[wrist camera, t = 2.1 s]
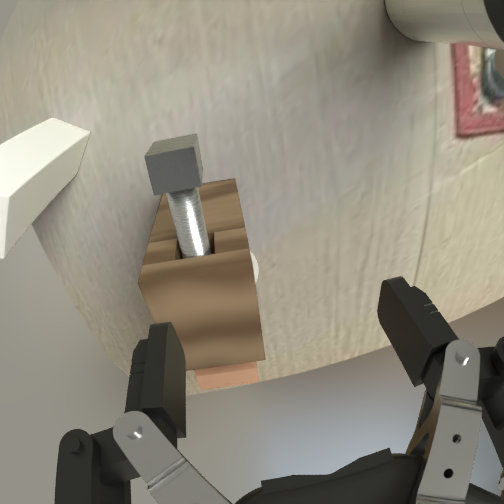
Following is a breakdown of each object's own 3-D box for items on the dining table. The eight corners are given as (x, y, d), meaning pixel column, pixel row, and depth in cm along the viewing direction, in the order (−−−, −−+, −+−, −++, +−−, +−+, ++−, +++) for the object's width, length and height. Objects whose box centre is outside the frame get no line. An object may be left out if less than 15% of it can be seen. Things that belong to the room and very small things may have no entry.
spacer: (194, 330, 39) (194, 376, 33) (249, 322, 39) (256, 367, 33) (199, 345, 41) (200, 389, 35) (252, 337, 41) (259, 381, 35)
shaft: (153, 142, 23) (144, 156, 20) (196, 133, 24) (194, 146, 20) (216, 365, 40) (218, 390, 37) (242, 362, 40) (245, 387, 37)
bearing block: (164, 190, 38) (137, 283, 23) (235, 178, 39) (252, 265, 24) (184, 266, 45) (178, 371, 30) (246, 257, 45) (265, 359, 31)
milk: (91, 131, 33) (-12, 217, 14) (77, 174, 35) (-12, 284, 17) (51, 116, 30) (-68, 188, 12) (39, 159, 33) (-64, 255, 15)
